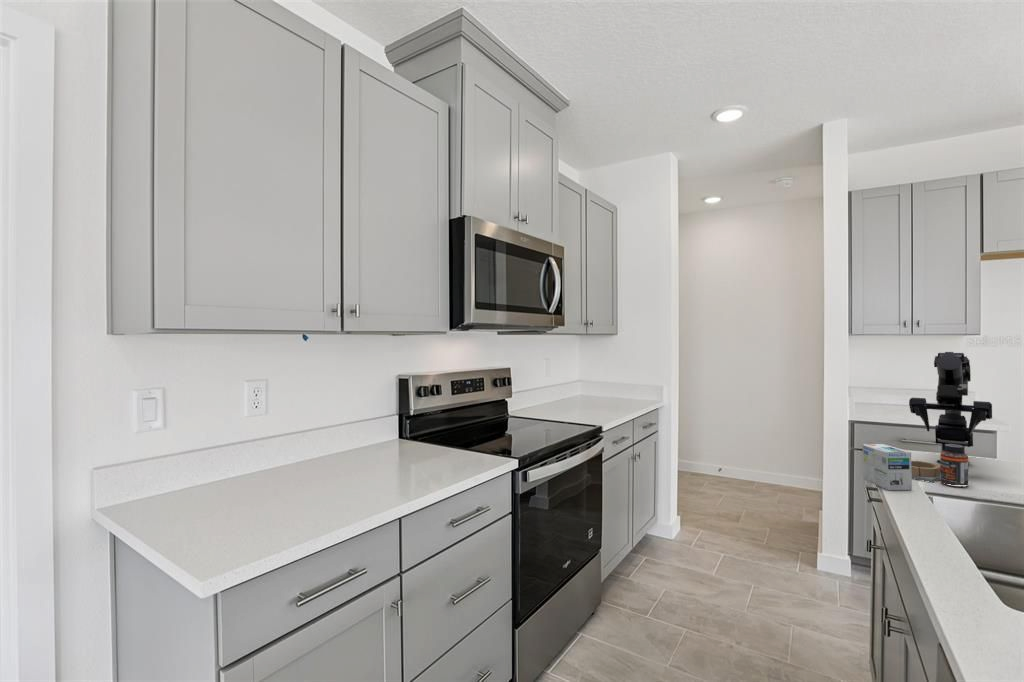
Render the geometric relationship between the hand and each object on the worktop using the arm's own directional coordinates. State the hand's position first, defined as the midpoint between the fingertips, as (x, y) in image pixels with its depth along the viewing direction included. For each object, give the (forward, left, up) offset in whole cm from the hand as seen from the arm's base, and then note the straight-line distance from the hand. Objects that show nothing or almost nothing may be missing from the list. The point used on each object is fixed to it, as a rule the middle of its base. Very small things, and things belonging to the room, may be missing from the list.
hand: (948, 432), depth 148 cm
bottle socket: (+5, -5, -13) cm, 15 cm away
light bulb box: (+22, -6, -14) cm, 27 cm away
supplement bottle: (+7, +4, -14) cm, 16 cm away
